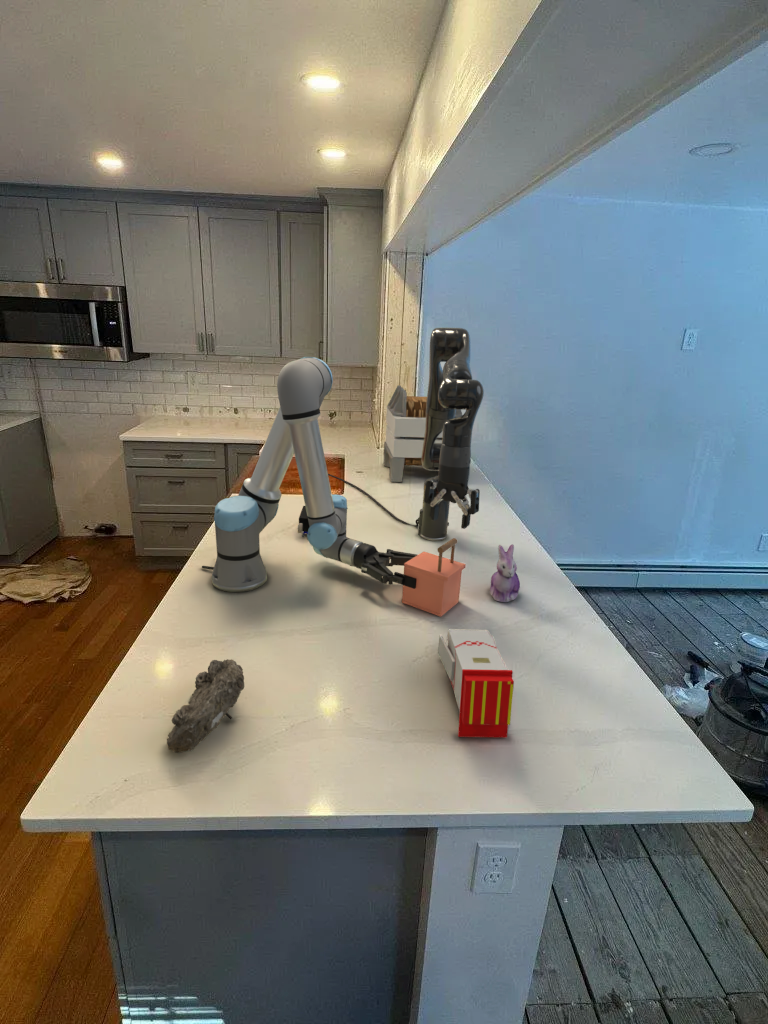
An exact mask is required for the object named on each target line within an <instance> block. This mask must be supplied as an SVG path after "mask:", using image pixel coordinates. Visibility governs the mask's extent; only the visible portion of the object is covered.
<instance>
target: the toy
mask: <svg viewBox="0 0 768 1024" xmlns="http://www.w3.org/2000/svg"><path fill="white" fill-rule="evenodd" d="M446 640H447V643H446V641H445V639H444V636H443V635H442V634H439V637H438V646H437V656H438V657H439V659H440V661H441V663H442V666H443V668H444V670H445V672H446V674H447V677H448V679H449V681H450V684H451V687H452V690H453V693H454V697H455V701H456V705H457V708H458V711H459V714H458V715H459V716H458V730H457V731H458V732H457V737H458V738H508V731H509V726H510V725H511V717H512V707H513V697H514V696H513V695H514V684H515V680H514V679H513V673H514V671H513V670H512V669H508V667H507V665H506V662H505V661H504V659H503V658H502V655H501V653H500V651H499V649H498V647H497V643H496V639H495V637H494V635H493V634H491V632H490V631H489V629H467V628H466V629H465V628H463V629H461V628H460V629H459V628H448V630H447V639H446Z"/></svg>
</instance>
